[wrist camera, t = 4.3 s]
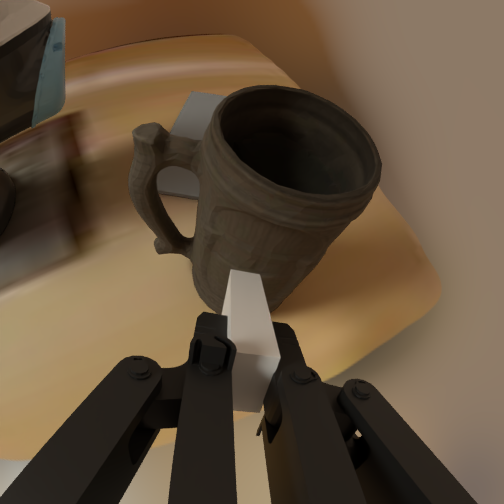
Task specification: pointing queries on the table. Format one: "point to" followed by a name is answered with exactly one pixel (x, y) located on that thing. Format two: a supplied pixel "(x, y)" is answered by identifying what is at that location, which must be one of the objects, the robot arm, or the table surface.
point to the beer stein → (259, 187)
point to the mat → (191, 126)
